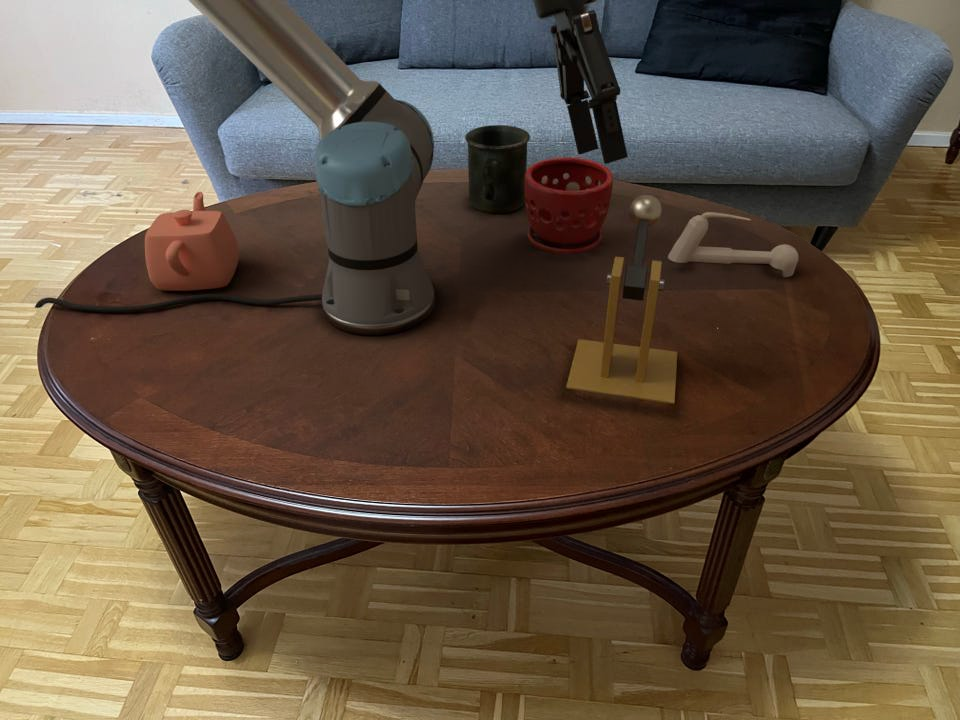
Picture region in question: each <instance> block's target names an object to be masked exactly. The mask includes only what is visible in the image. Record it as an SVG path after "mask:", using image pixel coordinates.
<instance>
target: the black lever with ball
mask: <svg viewBox="0 0 960 720" xmlns="http://www.w3.org/2000/svg"><path fill="white" fill-rule="evenodd" d="M662 212H663V210H662V205H661V202H660V201H659V199H657V197H655V196H653V195H650V194H642V195H639V196H637V197H636V198H635V199H634V200H633V201H632V202H631V204H630V206H629V213H628V214H629V217H630V220H631V221H632V222H633V224H634V225H636V226H637V231H636V236H635V237H636V238H635V244H634V251H633V258H632V265H630V264H627V265H626V268H625V275H624V282H623V288H622V289H623V290H622V299H623V300H625V299H626V300H634V301H641V302H643V301H644V298H645V297H644V296H645V289H646V282H647V275H648V268H649V267H647V266H644V261H645V260H644V259H645V252H646V245H647V239H648V231H649V227H652V226H654V225H656V224H657V223H658V221H659V220H660V218H661V216H662V214H663V213H662Z"/></svg>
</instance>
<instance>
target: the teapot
mask: <svg viewBox="0 0 960 720" xmlns="http://www.w3.org/2000/svg"><path fill="white" fill-rule="evenodd" d="M144 257H145V265H146V269H147V274H148V277H149V280H150V282H151V283H152V285H153V286H154V287H155V288H156V289H157V290H159V291H172V292H173V291H176V292H179V291H181V292H189V291H201V290H202V291H203V290H213V289H220V288H224V287H226V286H228V285H229V284H230V283H231V281H232V279H233V277H234V275H235V273H236V271H237V268H238V265H239V259H240V249H239V246H238V243H237V240H236V236H235V234H234V231H233V230H232V227H231V226H230V223H229V221H228V220H227V218H226V216H225V215H224V213H223V212H222V211H218V210H206V207H205V204H204V193H203V192H202V191H198V192H196V193H195V194H194V197H193V205H192V210H190V209H178V210H176V211H172V212H171V211H170V212H165V213H161V214H159V215H158V216H157V217H156V218H155V219H154V220H153V222H151V224H150V226H149V227H148V229H147V230H146V232H145V234H144Z"/></svg>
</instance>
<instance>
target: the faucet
mask: <svg viewBox="0 0 960 720" xmlns="http://www.w3.org/2000/svg"><path fill="white" fill-rule="evenodd" d="M709 218H729V219H737V220H743V221H752V219H751V218H749V217H744V216H739V215H734V214H728V213H721V212H714V211H706V212H703V213H702V214H700V215H699V214H697V215H694V216H692V218H690V219H689V221H688V222H687V224H686V226H685V228H684V229H683V231H682V232H681V234H680V236H679V237H678V239H677V240H676V242H675V243H674V245H673V246H672V248H671V250H670V252H669V253H668V255H667V258H668V260H669V261H671V262H673V263H679V264H686V263H689V262H690V263H691V262H693V263H708V264H723V265H725V264H726V265H731V264H747V265H769V266H770V267H772V268H774V269H777V270H781V273H782V277H783V278H789V277H792V276H793V275H794V273H795V270H796V267H797V265H798V262H799V253H798V250H796V248H795V247H793V246H792V245H789V244H786V243H785V244H780V245H779V244H778V245H776V246H775V247H774V248H772V249H771V251H763V250H762V251H761V250H745V249H732V247H718V246H702V245H701V246H700V243H701V242H702V240H703V239H704V236H705V235H706V234H707V231H708V229H709V221H708V219H709Z"/></svg>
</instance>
